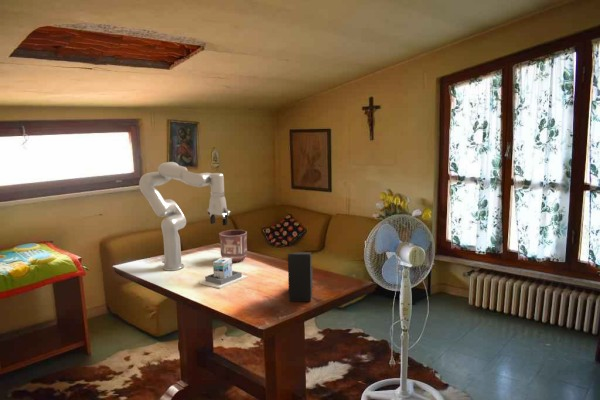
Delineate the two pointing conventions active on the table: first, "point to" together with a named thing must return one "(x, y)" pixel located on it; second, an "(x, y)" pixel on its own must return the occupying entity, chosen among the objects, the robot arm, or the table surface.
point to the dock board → (223, 280)
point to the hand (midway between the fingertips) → (218, 224)
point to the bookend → (300, 276)
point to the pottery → (233, 244)
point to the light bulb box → (222, 268)
